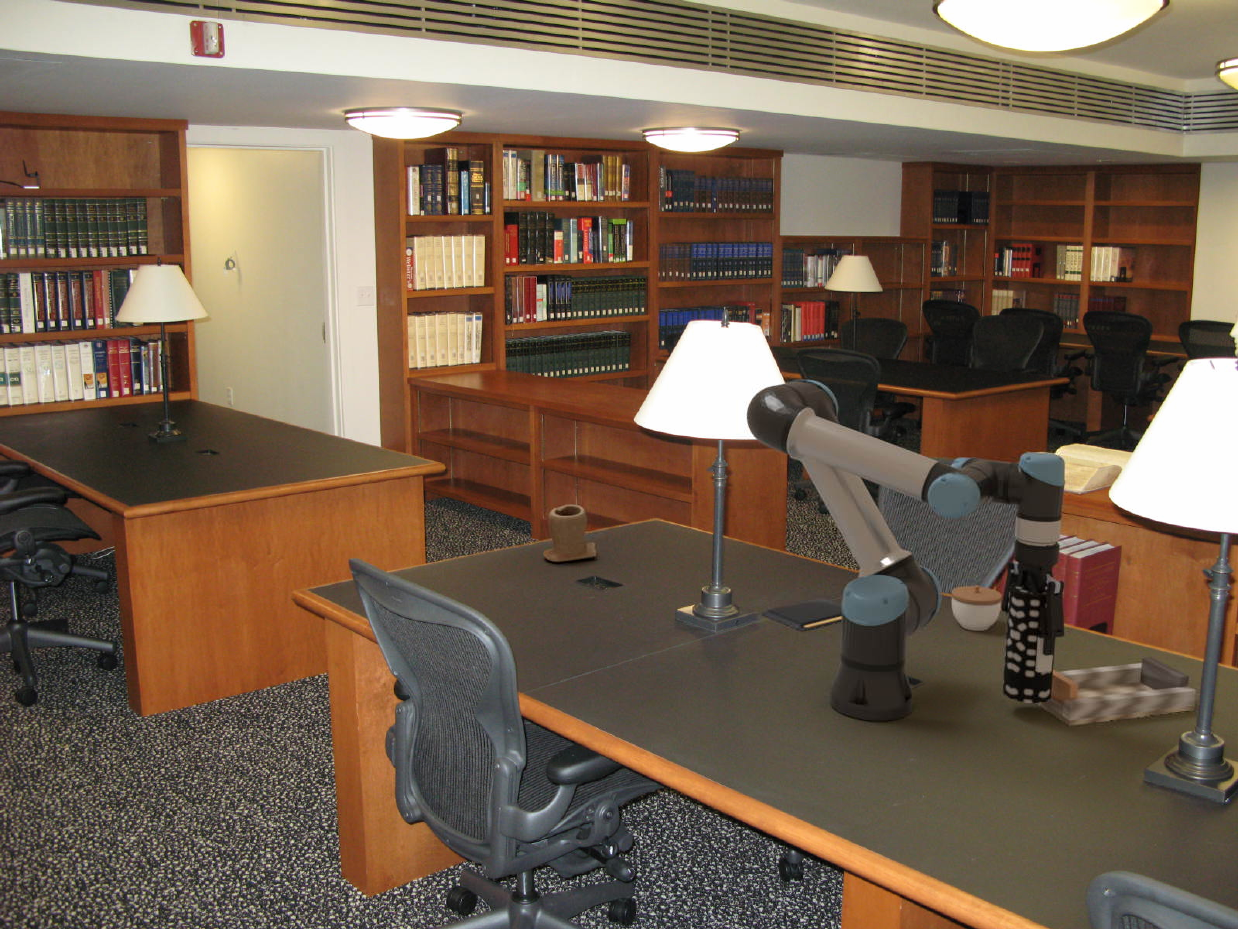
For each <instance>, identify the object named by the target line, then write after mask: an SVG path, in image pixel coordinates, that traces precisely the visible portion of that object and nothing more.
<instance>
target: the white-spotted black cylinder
mask: <svg viewBox="0 0 1238 929" xmlns="http://www.w3.org/2000/svg"><path fill="white" fill-rule="evenodd" d="M1015 584H1016V583H1014V584H1012V585H1010V588H1009V603H1008V617H1007V616H1006V617H1007V618H1006V621H1007V622H1006V635H1005V650H1004V651H1005V652H1004V662H1003V663H1004V666H1003V678H1002V682H1003V683H1002V694H1003V695H1004V696H1005V697H1006V698H1008V699H1011V700H1013V701H1016V702H1020V703H1025V704H1026V703H1027V704H1036V703H1044V702H1047V701H1049V700H1050V699H1051V690H1052V677H1053V670H1054V662H1055V653H1054V654H1053V657H1052V671H1045V672H1037V671H1035V670H1036V656H1037V642H1038V635H1041V629H1040V624H1039V618H1040V607H1042V608H1044V609H1047V602H1046V591H1045V592H1043V593H1038V594H1042V595H1035V594H1033V593H1031V590H1029V589H1027V588H1025V587H1023V585H1022V587H1019V586H1017V585H1015ZM1047 631H1048V629H1047ZM1055 648H1056V643H1055V644H1054V652H1055Z"/></svg>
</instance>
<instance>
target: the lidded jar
mask: <svg viewBox="0 0 1238 929" xmlns="http://www.w3.org/2000/svg"><path fill="white" fill-rule="evenodd" d="M950 595H951V610H952V614H953V616H954V619H955V620H956V621H957V622H958V623H959V624H960V627H961V626H962V627H961V628H963V629H965V630H969V631H975V632H976V631H978V632H979V631H980V632H981V631H982V632H983V631H987V630H988V629H990V627H991V626H992V625H993V624H995V623H996V622H997V620H998V618H999V615H1000V612H1001V605H1002V600H1003V595H1002V593H1001V592H999V590H995V589H992V588H988V587H985V586H980V585H978V584H977V585H966V586H958V587H955V588H952V590H951V594H950Z"/></svg>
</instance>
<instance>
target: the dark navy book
mask: <svg viewBox="0 0 1238 929" xmlns="http://www.w3.org/2000/svg"><path fill="white" fill-rule="evenodd" d="M841 606H842V604H839V603H836V602H833V601H831V600H827V599H825V598H822V597H817V598H812V599H809V600H808V599H807V600H805V601H800V602H795V603H791V604H787V605H783V606H778V607H774V608H771V609H770V608H769V609H768V610H766V611H764V612H761V615H762V616H763V617H765V618H767V619H770V620H772V621H775V622H778V623H780V624H782V623H783V624H782V625H785V626H787V627H789V626H792V627H793V628H792V627H791V628H792V629H794V628H795V630H797V631H799V630H800V631H799V632H801V631H802V633H804V632H808V631H807V630H809V631H811V630H815V628H816V629H819V627H820V626H824V627H827V626H830V624H831V625H834V624H833V623H835V624H838V623H842V607H841ZM820 628H821V627H820ZM803 631H804V632H803Z"/></svg>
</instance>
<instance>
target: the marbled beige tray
mask: <svg viewBox="0 0 1238 929" xmlns="http://www.w3.org/2000/svg"><path fill="white" fill-rule="evenodd" d="M1057 672H1058V673H1060V674H1061V675H1063V676H1065V677H1066V678H1068V679H1070V680H1071V681H1073V682H1075V683H1076V684H1078V693H1077V699H1070V700H1064V704H1062V703H1060V702H1059V701H1057V700H1056V699H1054V698H1053V697H1051V699H1050V700H1049V701H1047V702H1044V703H1037V704H1038V705H1037V704H1036V705H1037V706H1039V705H1040V706H1042V707H1043V708H1045V709H1046V710H1047V711H1046V710H1045V709H1044V710H1045V711H1046V712H1048V711H1049V712H1051V713H1052V714H1053V716H1054V715H1055V716H1056V717H1055V716H1054V717H1055V718H1056V719H1058V718H1059V719H1058V720H1060V719H1061V720H1062V721H1061V720H1060V721H1061V722H1063V723H1064V722H1065V723H1064V724H1066V725H1067V724H1068V725H1067V726H1078V725H1086V724H1095V723H1094V722H1096V723H1103V722H1111V721H1110V720H1113V721H1118V720H1117V719H1122V720H1127V719H1128V720H1129V719H1138V718H1137V717H1139V718H1146V717H1145V716H1147V717H1151V716H1150V715H1156V716H1159V715H1158V714H1162V713H1167V712H1179V711H1187V710H1192V709H1193V710H1194V711H1195V705H1196V704H1195V703H1196V693H1197V690H1196V689H1194V688H1192V687H1190V686H1189V683H1190V682H1189V681H1190V676H1189V675H1188V674H1186V673H1184V672H1182V671H1180V670H1179V669H1177V668H1174V667H1172V666H1170V665H1168V664H1166V663H1164V662H1162V661H1160V660H1158V659H1157V658H1155V657H1153V656H1146V657H1145V656H1144V657H1142V659H1141V662H1138V663H1130V664H1129V663H1128V664H1120V665H1109V666H1100V667H1092V668H1083V669H1071V670H1070V669H1069V670H1063V671H1061V670H1060V671H1057ZM1040 706H1039V707H1040ZM1042 707H1041V708H1042ZM1043 708H1042V709H1043ZM1049 712H1048V713H1049ZM1051 713H1050V714H1051ZM1052 714H1051V715H1052Z"/></svg>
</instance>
